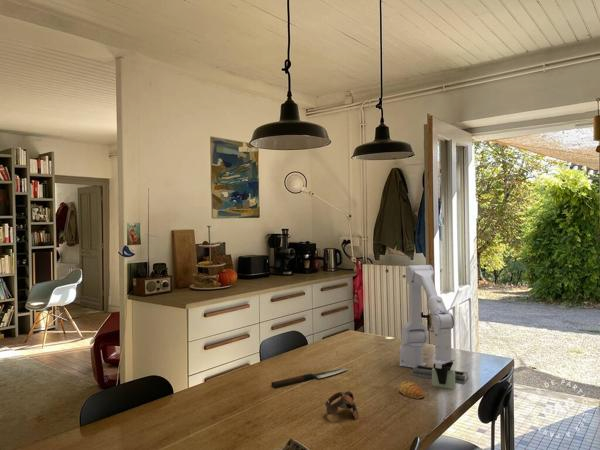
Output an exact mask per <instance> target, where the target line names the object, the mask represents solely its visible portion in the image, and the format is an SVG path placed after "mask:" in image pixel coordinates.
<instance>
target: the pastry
mask: <svg viewBox="0 0 600 450" xmlns="http://www.w3.org/2000/svg"><path fill="white" fill-rule="evenodd" d="M398 390H399V392H400V394H401V395H402V394H403V396H404V397H405V396H406V397H409V398H412V399H416V400H419V399H421V398H424V396H425V395H426V394H425V392H424V389H422V387H421V386H419V385H418V384H416V383H415V382H411V381H407V380H404V381H402V383H400V385H399V388H398Z"/></svg>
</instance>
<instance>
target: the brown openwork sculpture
mask: <svg viewBox="0 0 600 450" xmlns="http://www.w3.org/2000/svg"><path fill="white" fill-rule="evenodd" d="M337 399H338V400H337ZM354 400H355V398H354V394H353V393H352V392H351V391H349V390H348V391H338V392H336V393H334V394H333V395H331V396H330V397H328V399H327V401H326V402H325V403H324V404H325V407H326V413H327V414H334V413H335V414H337V415H338V414H339V408H340V409H344V410H345V409H347V410H352V416H353V417H354V418H353V419H354V420H357V419H358V418H359V412H358V409H357V406H356V403H355V401H354ZM334 401H336V402H334ZM333 402H334V403H333Z"/></svg>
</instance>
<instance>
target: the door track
mask: <svg viewBox="0 0 600 450" xmlns="http://www.w3.org/2000/svg"><path fill="white" fill-rule="evenodd" d="M433 368H434V366H433V367H432V366H427V365H425V366H422V365H416V366H415V367H414V368H412V372H411V376H413V377H420V378H425V379H429V380H432V369H433ZM450 371H455V384H460V385H465V383H466V382H467V381H468V379H469V375H468V374H469V373H468V372H465V371H459V370H453V369H450Z"/></svg>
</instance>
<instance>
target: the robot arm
mask: <svg viewBox="0 0 600 450" xmlns="http://www.w3.org/2000/svg"><path fill="white" fill-rule="evenodd" d="M434 275H435V270H434V268H433V266H432V265H431V264H424V265H423V264H421V265H418V264H417V265H415V264H414V265H411V264H409V265H408V266H407V267H406V269H405V283H406V284H408V321H407V322H406V323H404V324H403V325H402V327H401V328H402V330H401V333H400V335H401V336H400V338H401V342H402V343H400V346H399V364H398V365H399V366H400V367H406V368H412V369H413V368H414V367H415V366H416V365H422V366H427V363H426V362H424V346H425V344H426V343H427V342H428V332H427V327H426V325H425V324H424V323H422V288H423V290H424V292H425V294H426V296H427V299H428V300H427V306H428V308H429V310H430V313H431V316H432V320H431V323H432V328H433V333H434V345H435V347H434V354H435V356H434V361H435V363H433V367H434V369H435V370H436V373H437V376H438V381H439V384H444V385H445V384H446V378H447V373H448V370H449V371H450V370H452V368H453V367H452V366H453V364H454V362H455V361H456V359H455V358H454V357H452V329H454V327H455V318H454V315H453V314H452V313H451V312H450V310H447V307H446V305H445V302H444V300H443V299H442V297H441V296H439V295H438V293H437V290H436V286H435V284H434V277H435V276H434Z"/></svg>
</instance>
